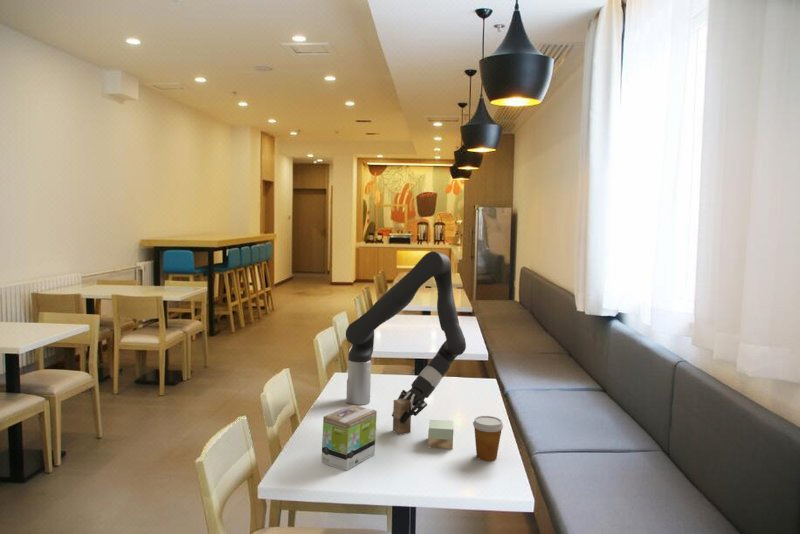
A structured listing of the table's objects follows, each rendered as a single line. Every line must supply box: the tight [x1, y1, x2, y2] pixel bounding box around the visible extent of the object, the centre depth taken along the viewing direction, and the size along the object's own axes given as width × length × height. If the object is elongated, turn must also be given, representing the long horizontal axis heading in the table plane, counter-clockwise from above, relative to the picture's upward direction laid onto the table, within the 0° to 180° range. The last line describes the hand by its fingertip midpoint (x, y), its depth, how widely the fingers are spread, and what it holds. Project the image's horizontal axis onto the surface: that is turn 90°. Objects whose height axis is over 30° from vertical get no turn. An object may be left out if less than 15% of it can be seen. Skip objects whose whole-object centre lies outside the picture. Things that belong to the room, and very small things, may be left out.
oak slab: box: [427, 429, 454, 450], centre depth 193 cm, size 8×8×4 cm
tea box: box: [320, 404, 378, 472], centre depth 178 cm, size 15×10×15 cm, turn 148°
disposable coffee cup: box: [472, 415, 504, 462], centre depth 183 cm, size 10×10×12 cm
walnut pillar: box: [392, 398, 412, 435], centre depth 202 cm, size 4×4×11 cm
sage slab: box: [428, 419, 454, 441], centre depth 193 cm, size 8×8×4 cm
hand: (397, 419), depth 201 cm, fingers closed on walnut pillar, 4 cm apart
